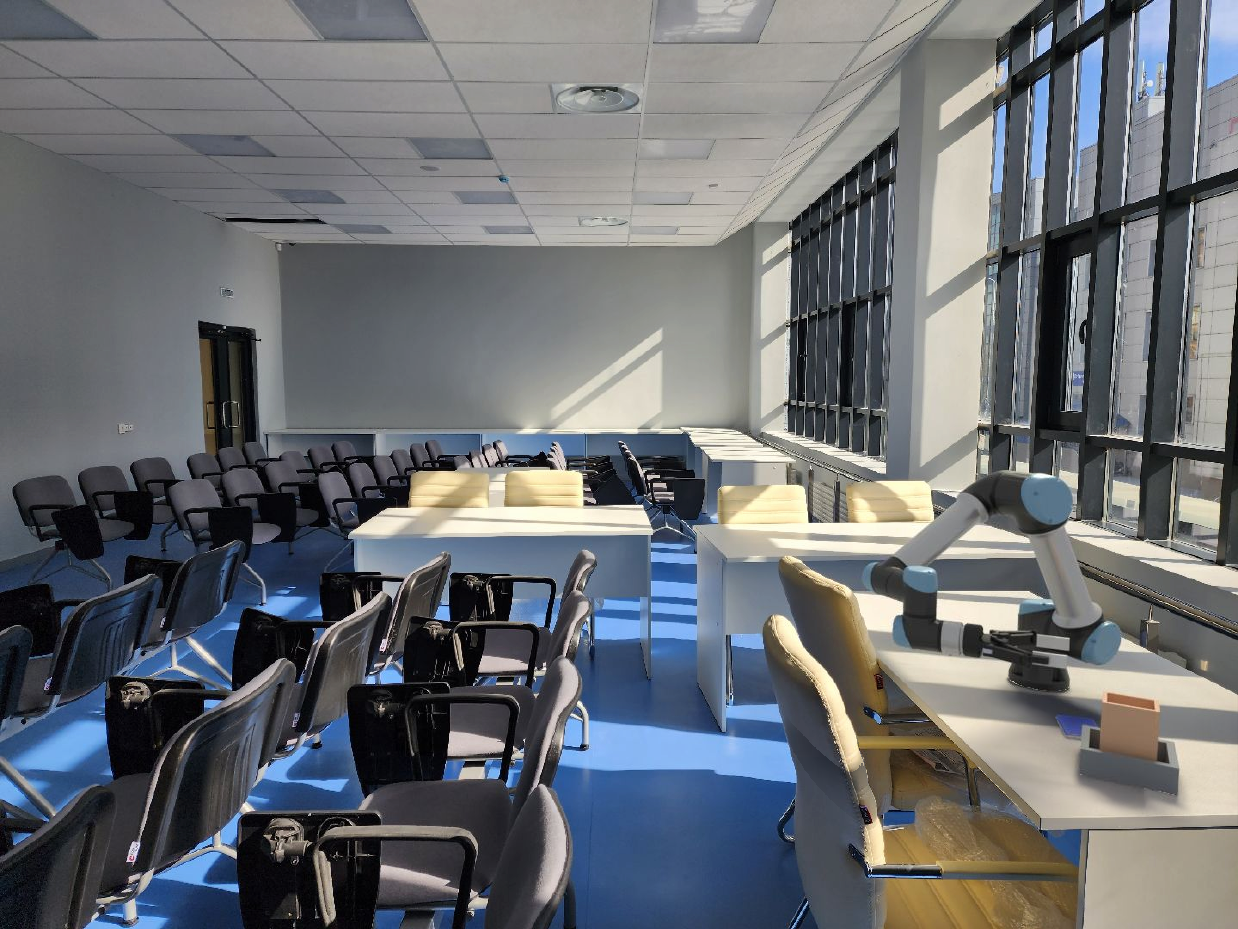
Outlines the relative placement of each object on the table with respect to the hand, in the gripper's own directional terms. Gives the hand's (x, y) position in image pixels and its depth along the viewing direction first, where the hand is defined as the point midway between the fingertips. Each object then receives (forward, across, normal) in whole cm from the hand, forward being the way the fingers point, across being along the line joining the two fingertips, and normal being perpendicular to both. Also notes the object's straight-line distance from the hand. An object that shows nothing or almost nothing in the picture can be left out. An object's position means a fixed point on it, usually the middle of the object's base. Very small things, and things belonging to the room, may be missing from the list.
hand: (1068, 653), depth 178 cm
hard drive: (+2, -17, -24) cm, 29 cm away
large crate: (+12, +3, -23) cm, 26 cm away
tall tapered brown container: (+11, +3, -22) cm, 25 cm away
